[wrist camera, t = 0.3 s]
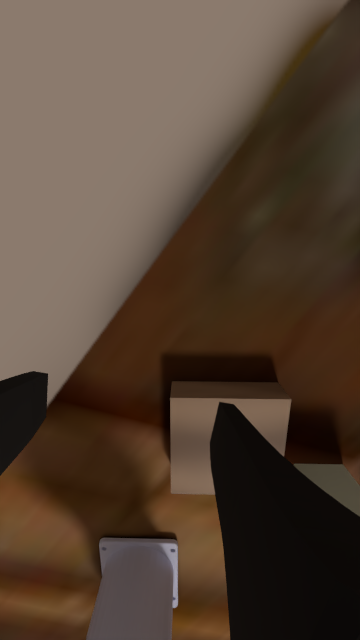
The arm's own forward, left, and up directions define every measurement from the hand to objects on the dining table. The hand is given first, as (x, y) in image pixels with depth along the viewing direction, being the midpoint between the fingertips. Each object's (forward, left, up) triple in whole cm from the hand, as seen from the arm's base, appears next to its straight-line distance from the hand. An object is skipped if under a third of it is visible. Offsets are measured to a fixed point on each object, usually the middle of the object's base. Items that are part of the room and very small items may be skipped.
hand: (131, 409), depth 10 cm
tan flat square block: (-8, -6, -10) cm, 15 cm away
